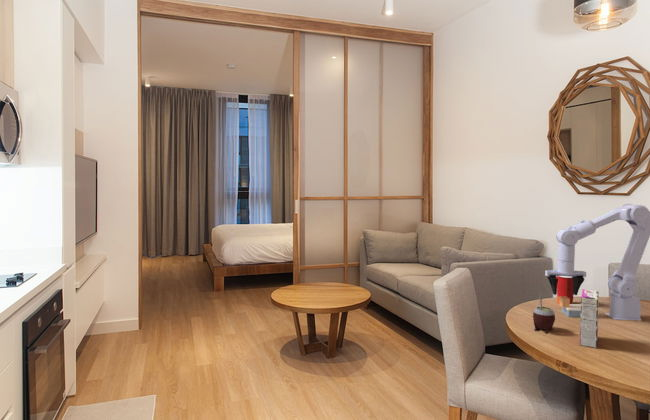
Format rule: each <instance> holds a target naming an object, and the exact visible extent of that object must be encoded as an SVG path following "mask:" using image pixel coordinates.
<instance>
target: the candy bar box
mask: <svg viewBox="0 0 650 420" xmlns="http://www.w3.org/2000/svg"><path fill="white" fill-rule="evenodd" d="M599 293H600V292H599V290H595V289H587V288H585V289H584V288H582V290H581V296H580V304H581V317H580V333H579V334H580V336H579V338H580V339H579V340H580V341H579V344H580V346H582V347H587V348H593V349H597V348H598V333H599V332H598V331H599V330H598V329H599V327H598V326H599Z"/></svg>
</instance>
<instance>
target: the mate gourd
mask: <svg viewBox="0 0 650 420" xmlns="http://www.w3.org/2000/svg"><path fill="white" fill-rule="evenodd" d="M538 295H539V296H538V297H539V305H540V306H537V307H535V309H534V310H533V312H532V313H533V314H532V319H533V326H534V331H535V332H541V331H543V332H544V334H547V335H548V334H549V330H550V331H552V330H553V327H554V324H555V322H556V315H555V312H554V310H553V309H552V308H550V307H548V306H543V301H542V300H543V298H542V297H543V296H542V294H541V293H540V292H538Z"/></svg>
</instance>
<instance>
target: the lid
mask: <svg viewBox="0 0 650 420" xmlns="http://www.w3.org/2000/svg"><path fill="white" fill-rule="evenodd" d="M559 306H560V307H561V308H562V307H564V308H565V309H567V310H568V311H581V303H580V304H578V303H577V304H575V303H573V304H570V298H568V297H560V304H559Z"/></svg>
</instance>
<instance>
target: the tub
mask: <svg viewBox="0 0 650 420" xmlns="http://www.w3.org/2000/svg"><path fill="white" fill-rule="evenodd" d="M561 313H562V314H564V315H565V316H566V317H568V318H581V311H568V310H567V309H565V308H564V307H561Z"/></svg>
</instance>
